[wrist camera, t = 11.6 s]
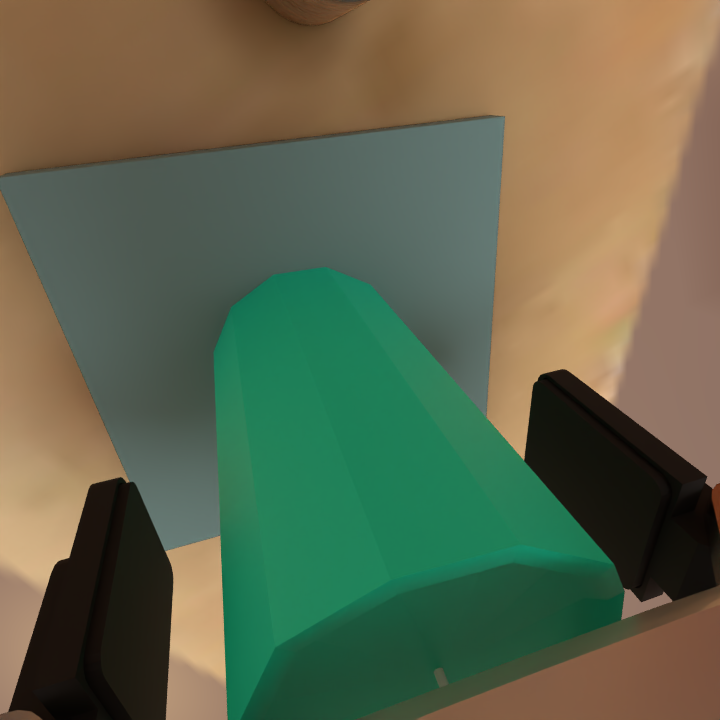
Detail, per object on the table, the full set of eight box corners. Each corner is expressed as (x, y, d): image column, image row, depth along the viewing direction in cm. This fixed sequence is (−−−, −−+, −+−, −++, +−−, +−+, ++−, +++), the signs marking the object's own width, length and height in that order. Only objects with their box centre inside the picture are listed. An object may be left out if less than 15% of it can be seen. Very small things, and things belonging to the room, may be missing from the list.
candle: (262, 459, 17) (350, 1004, 7) (175, 315, 14) (96, 948, 4) (417, 389, 17) (716, 803, 7) (368, 234, 14) (782, 593, 4)
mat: (6, 173, 12) (-6, 178, 11) (490, 115, 14) (505, 116, 14) (162, 535, 18) (161, 552, 18) (474, 450, 21) (483, 462, 20)
